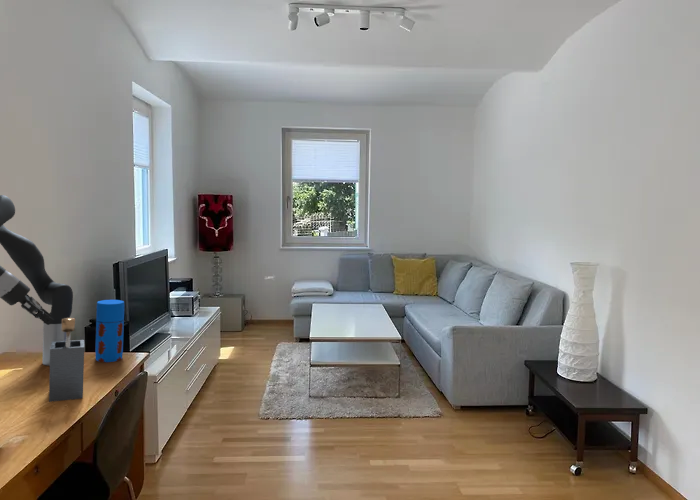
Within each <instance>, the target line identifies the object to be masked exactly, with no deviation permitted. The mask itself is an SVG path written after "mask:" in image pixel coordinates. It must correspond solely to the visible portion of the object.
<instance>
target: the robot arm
mask: <svg viewBox="0 0 700 500" xmlns="http://www.w3.org/2000/svg"><path fill="white" fill-rule="evenodd" d="M15 214H16V207H15V205H14V203H13V201H12V200H11V198H10V197H8V196H7V195H2V194H0V245H1V247H2V248H3V249H4V250H5V252H6V253H7V254H8V256H9V258H10V259H11V260H12V261H13V262H14V264H15V265H16V266H17V267H18V269H19V270H20V271H21V272H22V274H23V275H24V277H25V278H26V279H27V280H28V281H29V283H30V284H31V286H32V287H33V289H34V291H35V293H36V294H37V296H38V298H39V299H40V301H41V302H42V303H44V304H46V305H50V306H51V310H50V312H48V311H47V310H46V309H44V308H43V306H42V305H41V304H40V302H38V301H37V300H36V299H35V298H34V297H32V296H30V295H29V294H28V293H30V291H31V288H30V287H29V286H28V285H26V284H25V283H24V282H23V281H22V280H21V279H19V278H18V277H17V276H15V275H14V274H13V273H11V272H9V270H6V269H5V268H4V267H3V266H2V265H0V299H1V300H3V301H4V302H5V303H7V304H8V305H9V306H14V305H15V304H17V303H20V306H21V309H23V310H25V311H27V312H28V313H29V314H30V315H32V316H34V318H36V319H39V320H41V321H42V322H43V323H42V325H43V326H42V328H43V329H42V365H44V366H50V348H51V343H52V342H54V341H66V332H62V319H64V318H71V315H72V314H73V313H72V312H73V302H74V292H73V288H72V287H71V286H70V285H69V284H65V283H60V282H56V281H54V280H53V279H52V278H51V277H50V276H49V273H47V270H46V268H45V267H46V266H45V259H44V256H43V254H42V252H41V251H40V249H39V248H38V247H37V246H36V244H35V243H34V242H33V241H32V240H30V239H28V237H25V236H23V235H21V234H18V233H16V232H14V231H12V230H10V229H9V228H7V227H6V226H5V225H4V224H5V223H7V222H9V221H10V220H11V219H12V218H14V216H15Z"/></svg>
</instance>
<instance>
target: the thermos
mask: <svg viewBox="0 0 700 500" xmlns="http://www.w3.org/2000/svg"><path fill="white" fill-rule="evenodd" d="M95 316H96V317H95V318H96V319H95V349H94V350H95V354H94V355H95V361H97V362H99V363H111V362H112V363H114V362H118V361H121V360H122V359H123V354H124V334H125V333H124V331H125V330H124V328H125V327H124V326H125V324H124V323H125V301H124V300H122V299H121V300H120V299H103V300H98V301H97V302H96V315H95Z"/></svg>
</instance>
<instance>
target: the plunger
mask: <svg viewBox="0 0 700 500" xmlns="http://www.w3.org/2000/svg"><path fill="white" fill-rule="evenodd" d="M75 330H76V318H74V317H70V318H64V319H62V332H66V346H65V347H70V341H71V332H75Z"/></svg>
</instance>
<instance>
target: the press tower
mask: <svg viewBox="0 0 700 500" xmlns="http://www.w3.org/2000/svg"><path fill="white" fill-rule="evenodd" d="M65 346H66V341H54V342H52V343H51V348H50V365H49V381H48V382H49V385H48V386H49V387H48V388H49V389H48V402H49V403H50V402H51V403H53V402H61V401H70V399H71V400H79V399H80V400H81V399H83V398H84V373H85V372H84V369H85V340H84V339H75V340H74V339H73V340H71V339H70V347H65ZM52 401H53V402H52Z"/></svg>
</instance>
